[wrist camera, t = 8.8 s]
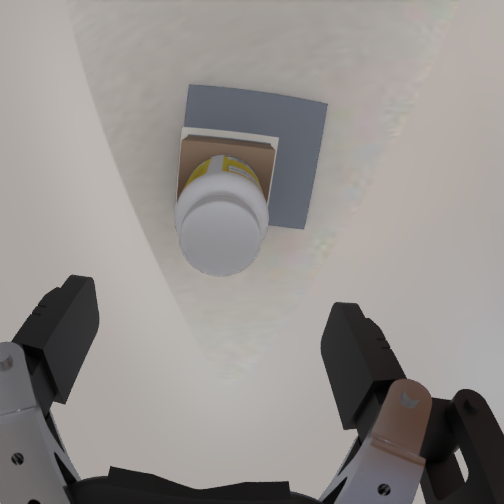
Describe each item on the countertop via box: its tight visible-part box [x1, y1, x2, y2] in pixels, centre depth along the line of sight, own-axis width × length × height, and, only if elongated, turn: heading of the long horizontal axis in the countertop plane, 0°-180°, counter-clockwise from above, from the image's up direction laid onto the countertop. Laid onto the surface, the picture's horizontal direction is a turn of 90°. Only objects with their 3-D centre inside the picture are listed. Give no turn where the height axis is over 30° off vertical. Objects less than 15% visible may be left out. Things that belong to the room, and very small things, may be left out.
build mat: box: [175, 85, 328, 229], centre depth 28 cm, size 12×12×1 cm
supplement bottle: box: [175, 155, 269, 276], centre depth 20 cm, size 5×5×10 cm
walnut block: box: [177, 135, 276, 203], centre depth 26 cm, size 7×7×4 cm
